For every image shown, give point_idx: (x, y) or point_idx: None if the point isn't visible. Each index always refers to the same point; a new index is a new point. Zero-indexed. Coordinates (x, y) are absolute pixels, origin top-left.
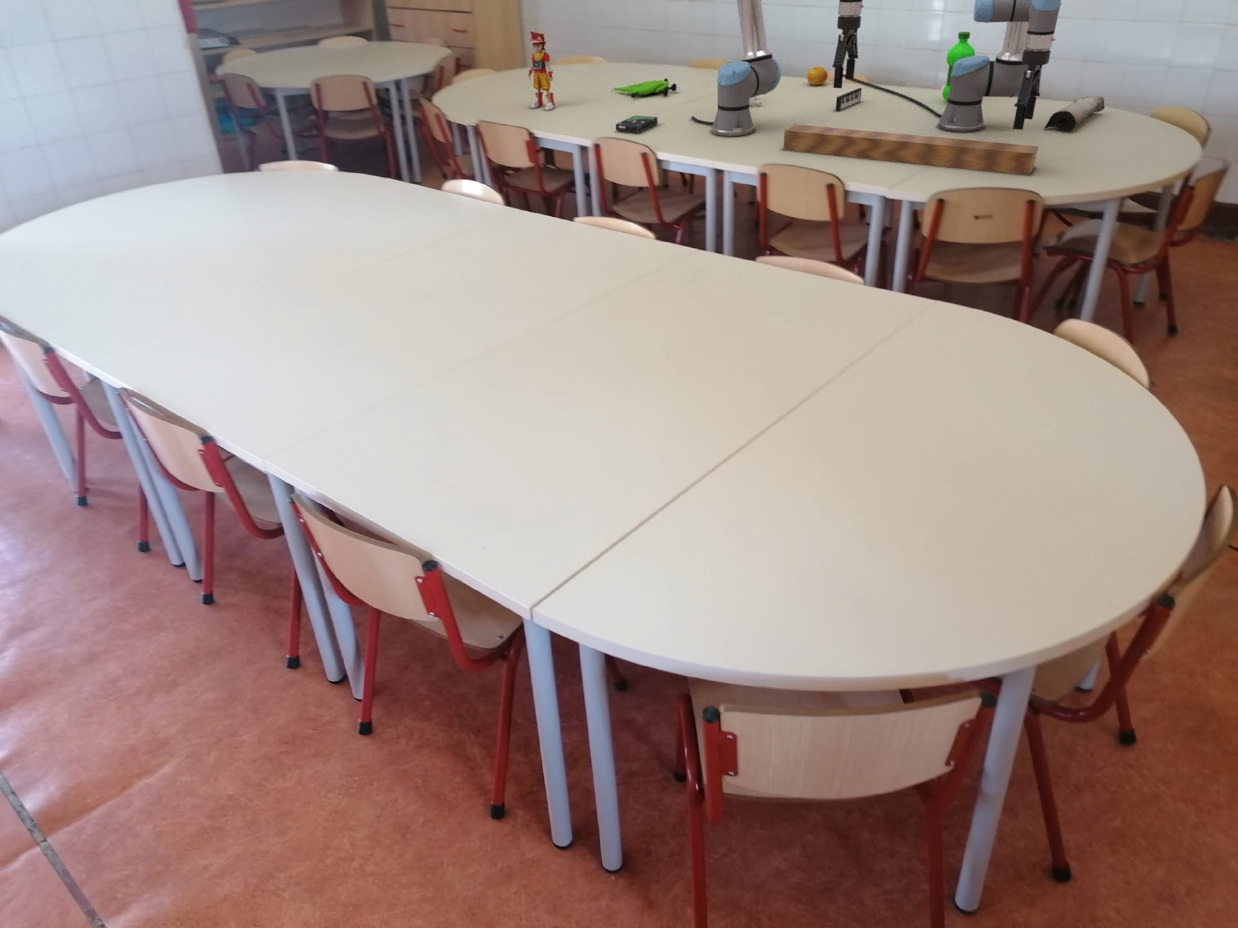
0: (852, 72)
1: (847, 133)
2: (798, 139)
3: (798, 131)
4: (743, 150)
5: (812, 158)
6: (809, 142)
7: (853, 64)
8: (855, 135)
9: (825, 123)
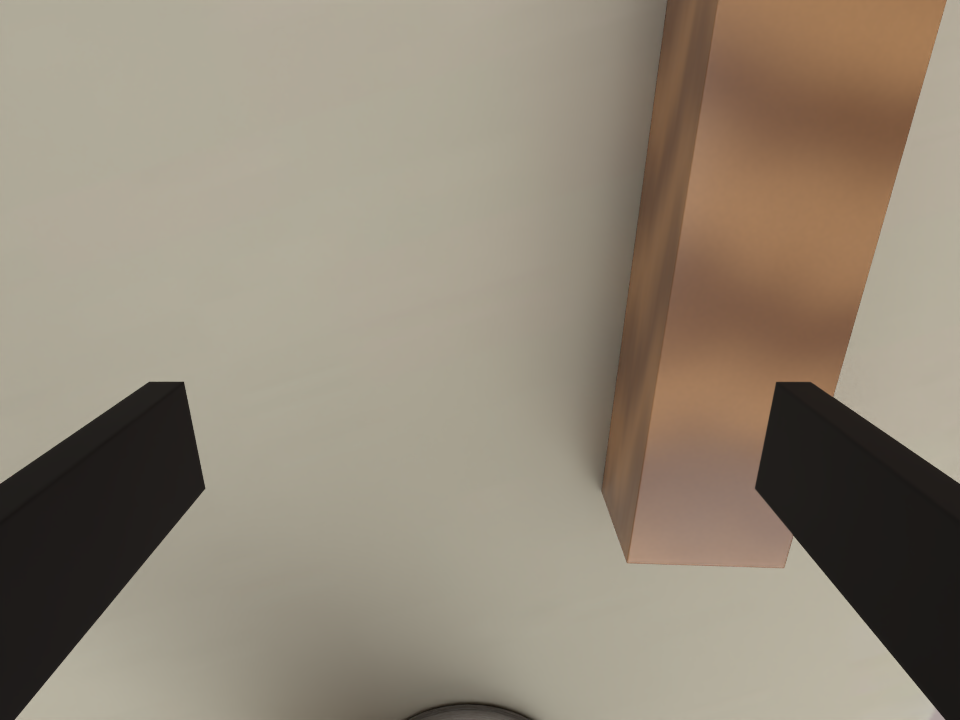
0: (117, 452)
1: (831, 133)
2: None
3: None
4: (765, 648)
5: (877, 306)
6: None
7: (2, 542)
8: (893, 40)
9: None
